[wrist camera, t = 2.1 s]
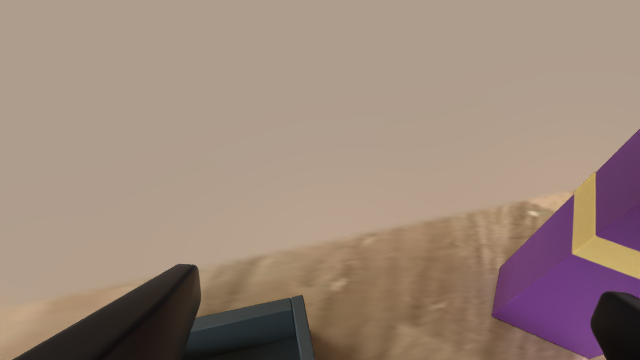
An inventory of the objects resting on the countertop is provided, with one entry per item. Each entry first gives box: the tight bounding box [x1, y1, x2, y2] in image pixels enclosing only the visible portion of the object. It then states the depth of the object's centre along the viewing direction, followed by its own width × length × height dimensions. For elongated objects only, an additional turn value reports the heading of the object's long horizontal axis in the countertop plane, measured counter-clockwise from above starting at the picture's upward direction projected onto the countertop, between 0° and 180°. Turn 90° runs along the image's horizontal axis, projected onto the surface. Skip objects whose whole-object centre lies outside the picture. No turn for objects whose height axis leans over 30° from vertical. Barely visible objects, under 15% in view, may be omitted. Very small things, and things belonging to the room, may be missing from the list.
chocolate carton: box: [492, 129, 640, 359], centre depth 17 cm, size 4×6×13 cm, turn 64°
